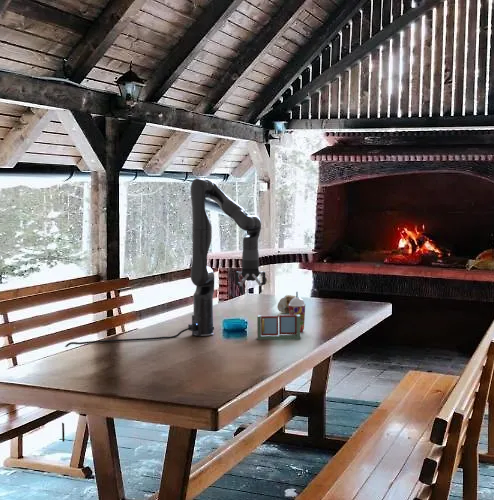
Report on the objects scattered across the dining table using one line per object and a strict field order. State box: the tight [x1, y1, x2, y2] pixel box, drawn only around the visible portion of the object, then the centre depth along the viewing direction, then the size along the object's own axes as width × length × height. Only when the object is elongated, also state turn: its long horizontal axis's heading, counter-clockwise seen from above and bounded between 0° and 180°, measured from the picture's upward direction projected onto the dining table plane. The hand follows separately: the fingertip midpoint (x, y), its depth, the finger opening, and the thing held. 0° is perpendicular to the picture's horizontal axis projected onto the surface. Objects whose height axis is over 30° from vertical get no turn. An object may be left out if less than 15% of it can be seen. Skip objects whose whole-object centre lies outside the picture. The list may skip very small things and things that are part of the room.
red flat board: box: [261, 315, 279, 336], centre depth 342 cm, size 4×8×9 cm, turn 92°
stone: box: [277, 294, 296, 314], centre depth 421 cm, size 17×12×10 cm
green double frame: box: [256, 314, 301, 341], centre depth 345 cm, size 4×20×11 cm, turn 93°
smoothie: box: [288, 291, 306, 334], centre depth 361 cm, size 8×8×20 cm
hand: (250, 294), depth 339 cm, fingers open, 7 cm apart
